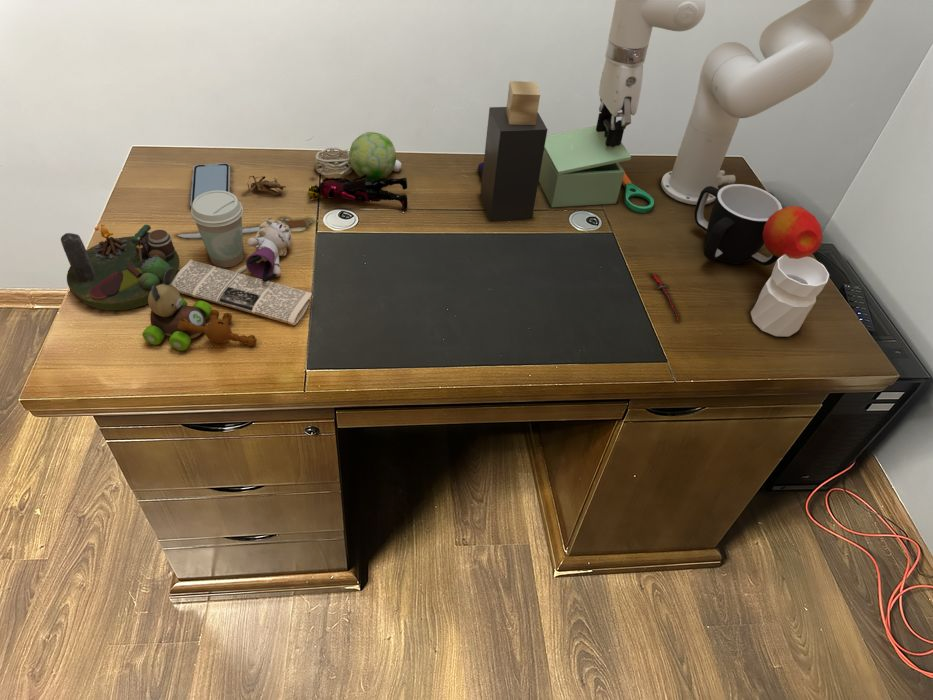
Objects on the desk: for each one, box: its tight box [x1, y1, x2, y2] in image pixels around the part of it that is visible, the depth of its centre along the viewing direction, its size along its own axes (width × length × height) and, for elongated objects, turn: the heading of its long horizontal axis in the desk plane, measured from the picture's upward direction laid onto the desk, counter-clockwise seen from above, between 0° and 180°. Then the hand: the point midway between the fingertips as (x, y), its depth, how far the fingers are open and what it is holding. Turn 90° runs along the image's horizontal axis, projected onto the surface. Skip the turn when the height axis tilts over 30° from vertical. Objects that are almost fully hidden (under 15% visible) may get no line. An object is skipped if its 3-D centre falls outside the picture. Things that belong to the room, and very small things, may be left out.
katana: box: [651, 274, 679, 322], centre depth 128 cm, size 13×2×1 cm, turn 8°
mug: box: [693, 183, 783, 266], centre depth 134 cm, size 16×16×12 cm
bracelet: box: [314, 146, 354, 177], centre depth 147 cm, size 4×8×8 cm
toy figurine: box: [178, 309, 258, 347], centre depth 111 cm, size 12×4×7 cm
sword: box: [176, 217, 313, 240], centre depth 132 cm, size 25×1×5 cm
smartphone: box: [190, 162, 231, 208], centre depth 140 cm, size 7×1×15 cm
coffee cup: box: [190, 190, 245, 268], centre depth 122 cm, size 8×8×12 cm
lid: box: [544, 116, 632, 175], centre depth 142 cm, size 15×14×5 cm
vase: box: [750, 254, 830, 338], centre depth 121 cm, size 9×9×12 cm
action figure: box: [303, 174, 409, 211], centre depth 140 cm, size 15×6×20 cm
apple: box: [763, 205, 824, 259], centre depth 121 cm, size 9×9×12 cm
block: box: [505, 80, 541, 125], centre depth 127 cm, size 5×5×6 cm
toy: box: [234, 216, 293, 282], centre depth 124 cm, size 8×10×15 cm
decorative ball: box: [348, 131, 397, 181], centre depth 144 cm, size 10×10×10 cm
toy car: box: [141, 268, 213, 352], centre depth 109 cm, size 9×9×11 cm
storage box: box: [538, 149, 626, 208], centre depth 148 cm, size 15×14×8 cm
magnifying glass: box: [621, 172, 655, 214], centre depth 151 cm, size 15×6×2 cm, turn 14°
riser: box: [479, 106, 548, 222], centre depth 137 cm, size 9×9×20 cm
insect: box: [247, 175, 287, 196], centre depth 140 cm, size 4×8×5 cm
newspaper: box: [170, 259, 313, 326], centre depth 119 cm, size 24×7×2 cm, turn 73°
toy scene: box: [60, 222, 180, 311], centre depth 116 cm, size 18×18×11 cm
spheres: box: [392, 159, 403, 173], centre depth 153 cm, size 15×2×2 cm
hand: (608, 137), depth 143 cm, fingers closed on lid, 5 cm apart
